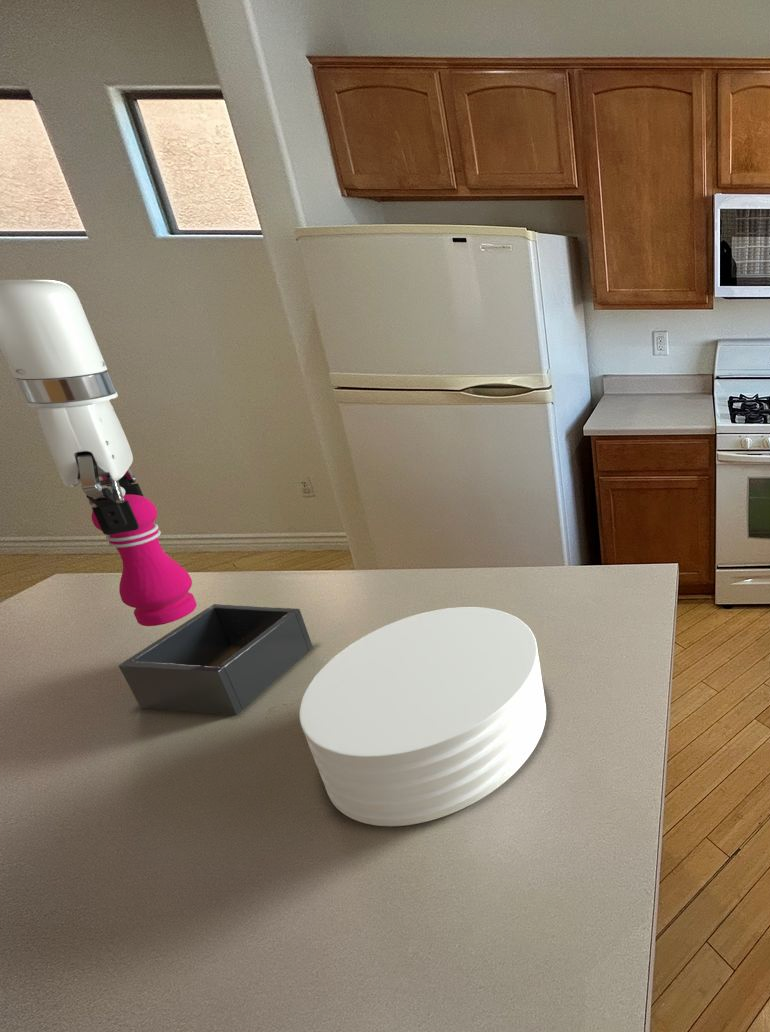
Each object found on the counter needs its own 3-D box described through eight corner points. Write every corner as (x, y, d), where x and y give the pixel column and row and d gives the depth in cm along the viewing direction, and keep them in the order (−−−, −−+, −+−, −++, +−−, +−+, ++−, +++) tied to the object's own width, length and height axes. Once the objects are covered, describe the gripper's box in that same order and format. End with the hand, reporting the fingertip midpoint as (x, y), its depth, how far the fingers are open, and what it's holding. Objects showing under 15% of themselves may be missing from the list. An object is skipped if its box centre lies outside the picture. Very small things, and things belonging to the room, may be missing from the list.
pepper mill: (131, 635, 75) (67, 501, 67) (134, 611, 80) (75, 484, 72) (201, 615, 79) (149, 488, 72) (201, 593, 84) (152, 472, 77)
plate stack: (273, 779, 71) (244, 712, 66) (446, 647, 95) (433, 591, 90) (438, 863, 61) (417, 791, 57) (584, 692, 85) (577, 632, 81)
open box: (140, 708, 81) (117, 665, 78) (230, 642, 95) (214, 603, 92) (236, 714, 80) (217, 672, 77) (313, 647, 94) (299, 608, 91)
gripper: (46, 378, 71) (103, 505, 78) (-5, 408, 58) (68, 556, 65) (127, 373, 75) (174, 494, 82) (96, 400, 63) (155, 540, 70)
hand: (127, 520), depth 74 cm, fingers closed on pepper mill, 6 cm apart
